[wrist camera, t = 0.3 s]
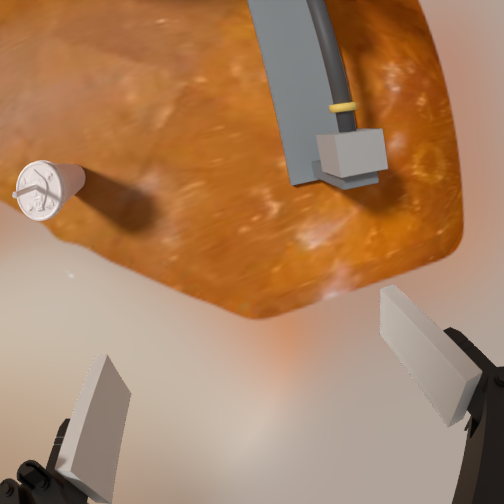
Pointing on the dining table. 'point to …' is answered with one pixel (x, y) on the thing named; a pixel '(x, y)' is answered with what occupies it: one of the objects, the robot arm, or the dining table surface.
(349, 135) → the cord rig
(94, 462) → the robot arm
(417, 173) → the dining table surface
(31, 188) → the smoothie
